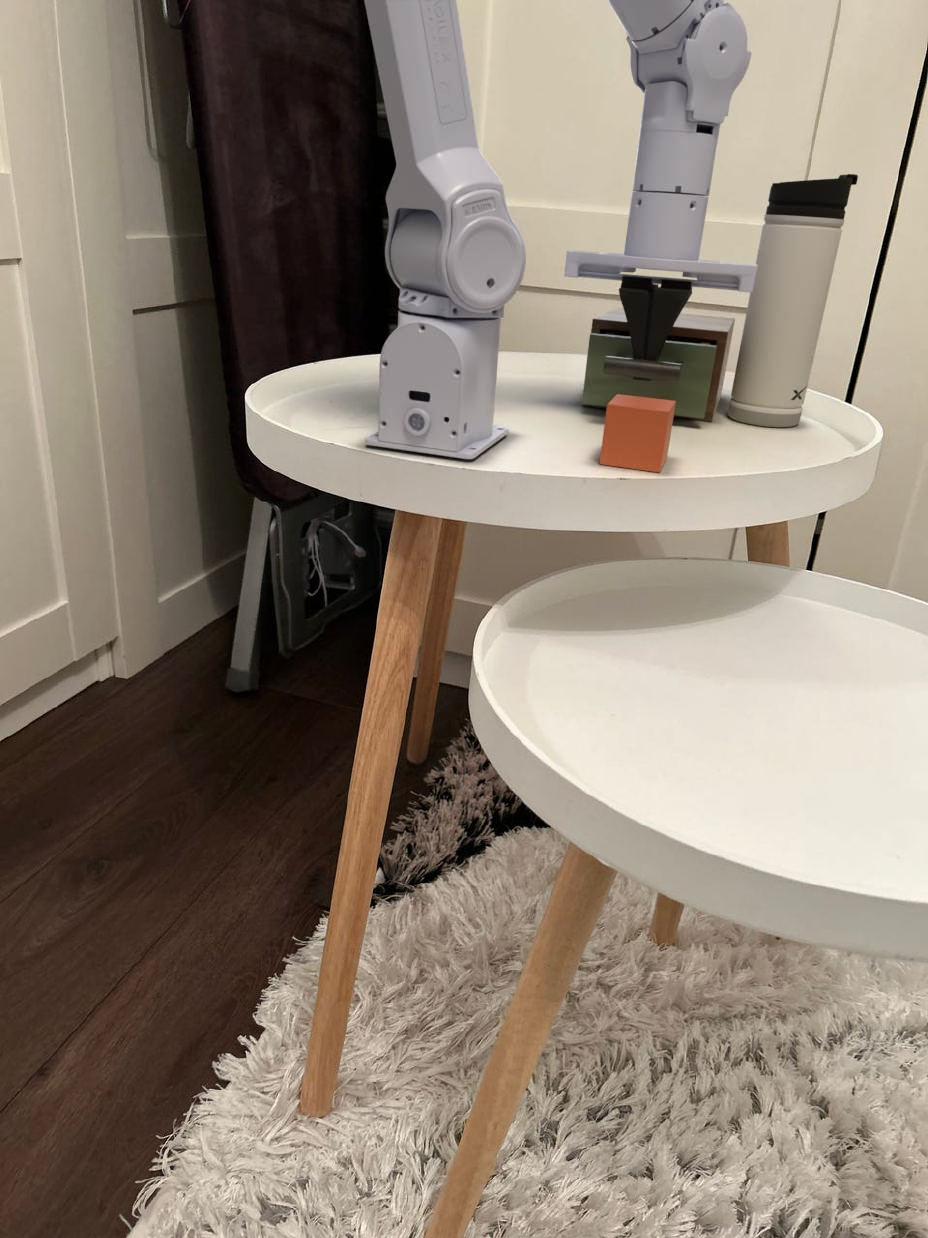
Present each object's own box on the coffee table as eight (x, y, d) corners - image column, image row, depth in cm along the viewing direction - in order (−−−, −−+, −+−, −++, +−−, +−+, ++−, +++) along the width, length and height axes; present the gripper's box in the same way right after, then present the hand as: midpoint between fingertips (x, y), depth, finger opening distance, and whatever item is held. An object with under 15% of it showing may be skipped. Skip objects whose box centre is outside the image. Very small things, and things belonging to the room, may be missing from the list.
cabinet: (712, 421, 77) (728, 331, 74) (582, 405, 80) (592, 318, 77) (720, 397, 89) (735, 318, 86) (607, 383, 92) (617, 307, 89)
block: (659, 472, 60) (669, 411, 58) (599, 464, 61) (607, 403, 59) (666, 459, 64) (676, 400, 62) (609, 451, 65) (616, 393, 63)
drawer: (699, 429, 70) (712, 353, 67) (570, 413, 72) (578, 339, 70) (713, 395, 84) (724, 332, 82) (606, 382, 87) (613, 321, 85)
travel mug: (812, 430, 77) (871, 173, 68) (737, 425, 76) (786, 167, 68) (790, 415, 82) (841, 176, 74) (719, 410, 82) (763, 171, 74)
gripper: (770, 202, 68) (736, 381, 74) (585, 191, 72) (566, 362, 77) (769, 198, 62) (732, 394, 67) (567, 186, 65) (548, 373, 71)
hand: (643, 378), depth 72 cm, fingers closed, pressing on drawer
